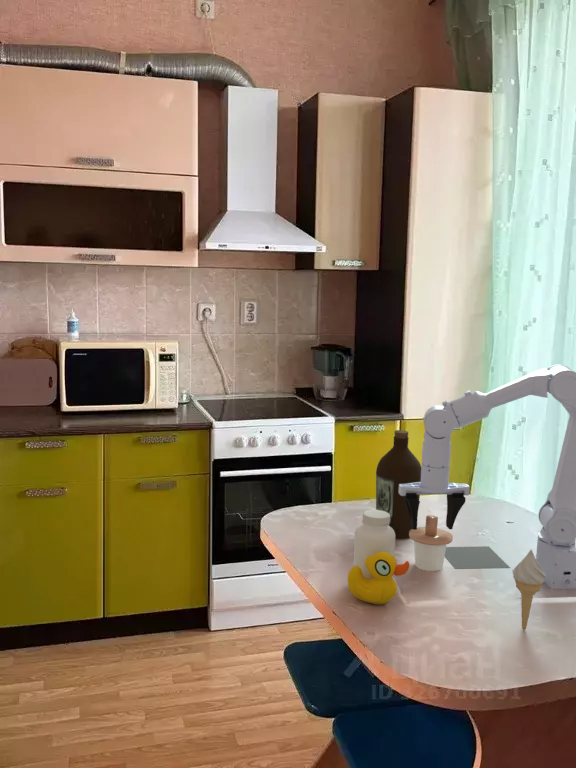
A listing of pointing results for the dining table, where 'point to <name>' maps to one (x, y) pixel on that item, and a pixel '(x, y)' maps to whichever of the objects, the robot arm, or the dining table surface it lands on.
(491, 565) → the mat
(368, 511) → the pill bottle
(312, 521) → the dining table surface
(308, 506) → the dining table surface
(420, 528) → the lid
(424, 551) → the white cup
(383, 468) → the olive oil
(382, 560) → the duckling
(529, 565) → the ice cream cone
